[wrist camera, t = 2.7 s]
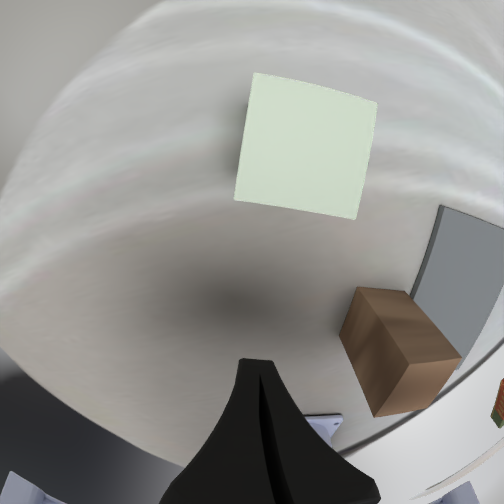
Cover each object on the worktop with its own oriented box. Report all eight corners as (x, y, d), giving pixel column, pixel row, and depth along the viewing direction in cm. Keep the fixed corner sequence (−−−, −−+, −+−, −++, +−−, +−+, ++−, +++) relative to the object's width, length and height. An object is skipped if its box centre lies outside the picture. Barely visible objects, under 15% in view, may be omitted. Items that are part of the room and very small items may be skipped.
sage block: (311, 188, 14) (355, 219, 8) (237, 176, 14) (233, 199, 8) (324, 117, 12) (378, 103, 7) (248, 102, 12) (253, 72, 7)
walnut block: (384, 336, 18) (427, 407, 11) (338, 335, 17) (373, 417, 11) (404, 291, 16) (462, 357, 10) (357, 286, 16) (409, 364, 10)
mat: (456, 366, 20) (458, 369, 20) (370, 376, 19) (372, 380, 19) (516, 234, 15) (520, 236, 15) (440, 205, 14) (444, 207, 14)
